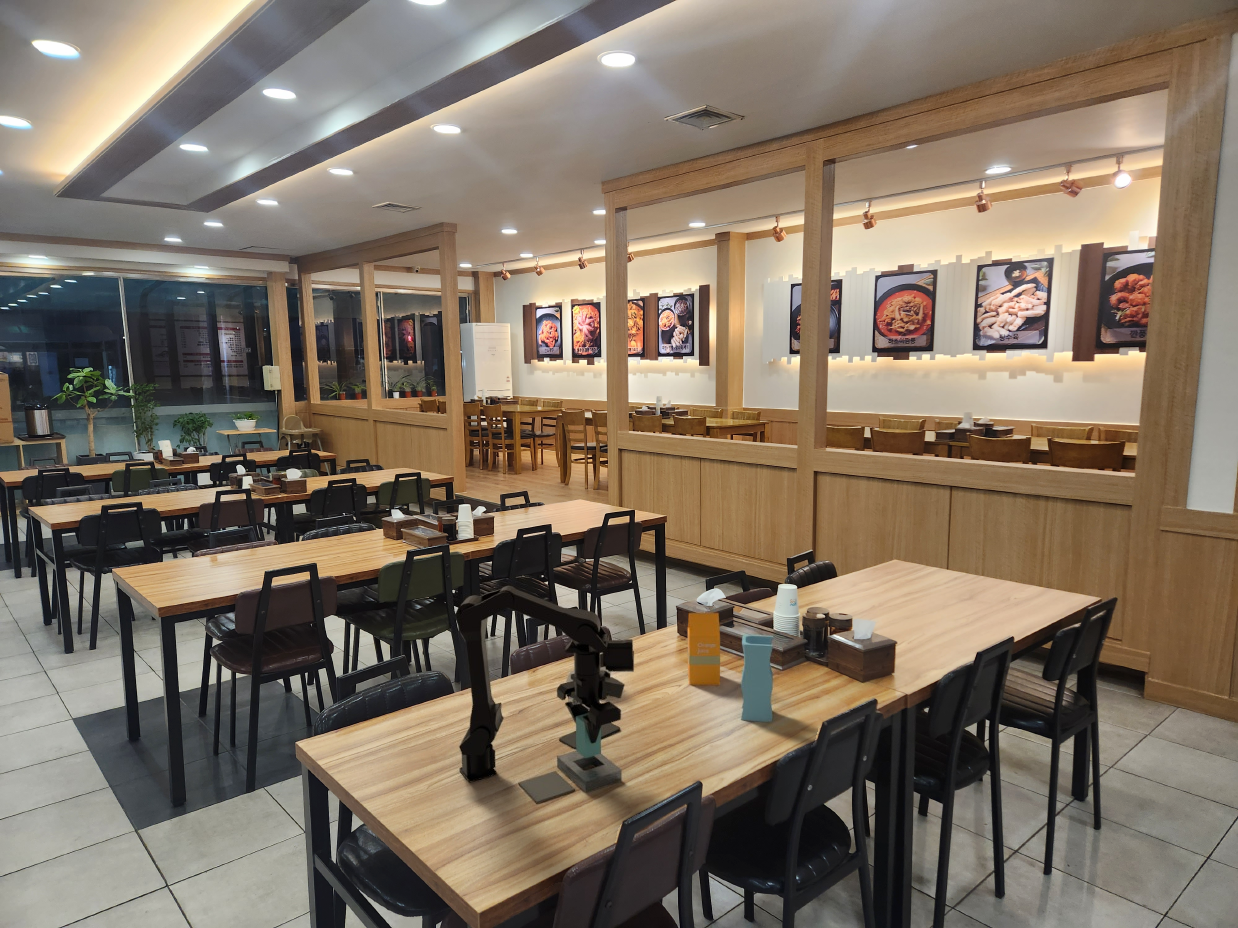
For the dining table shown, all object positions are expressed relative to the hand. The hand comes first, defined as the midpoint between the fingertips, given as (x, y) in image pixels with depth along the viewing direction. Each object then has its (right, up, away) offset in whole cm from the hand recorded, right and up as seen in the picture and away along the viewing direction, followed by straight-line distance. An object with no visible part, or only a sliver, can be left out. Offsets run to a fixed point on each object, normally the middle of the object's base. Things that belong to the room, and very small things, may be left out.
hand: (588, 738), depth 166 cm
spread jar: (-2, -3, +48) cm, 48 cm away
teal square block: (0, -3, 0) cm, 3 cm away
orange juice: (+31, -2, +53) cm, 62 cm away
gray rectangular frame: (0, -8, +1) cm, 8 cm away
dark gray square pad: (-9, -9, -5) cm, 13 cm away
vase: (+43, -5, +30) cm, 52 cm away
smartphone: (0, -7, +19) cm, 20 cm away
